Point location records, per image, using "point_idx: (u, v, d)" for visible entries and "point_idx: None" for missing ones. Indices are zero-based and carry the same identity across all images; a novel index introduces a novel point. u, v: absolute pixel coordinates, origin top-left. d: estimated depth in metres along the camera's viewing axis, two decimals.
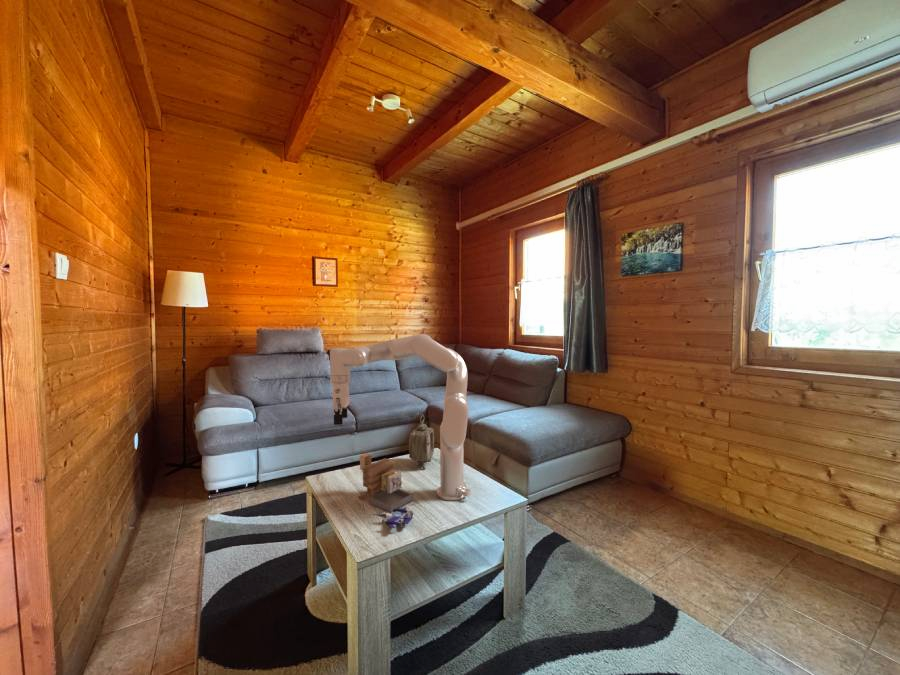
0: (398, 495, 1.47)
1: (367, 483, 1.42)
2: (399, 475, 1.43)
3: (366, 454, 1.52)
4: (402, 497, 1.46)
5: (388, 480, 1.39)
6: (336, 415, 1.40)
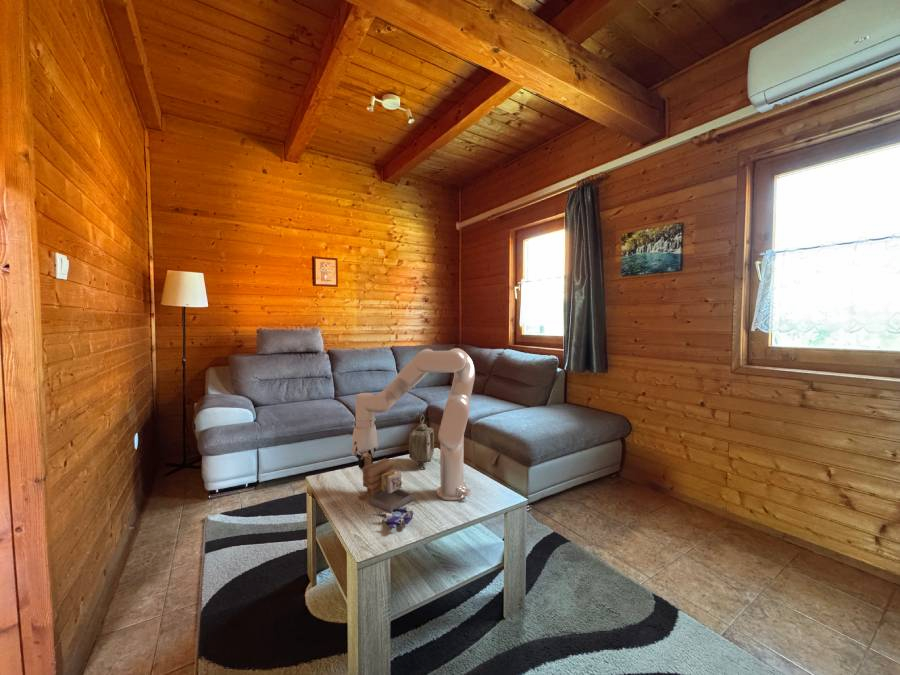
0: (398, 495, 1.47)
1: (367, 483, 1.42)
2: (399, 475, 1.43)
3: (366, 454, 1.52)
4: (402, 497, 1.46)
5: (388, 480, 1.39)
6: None
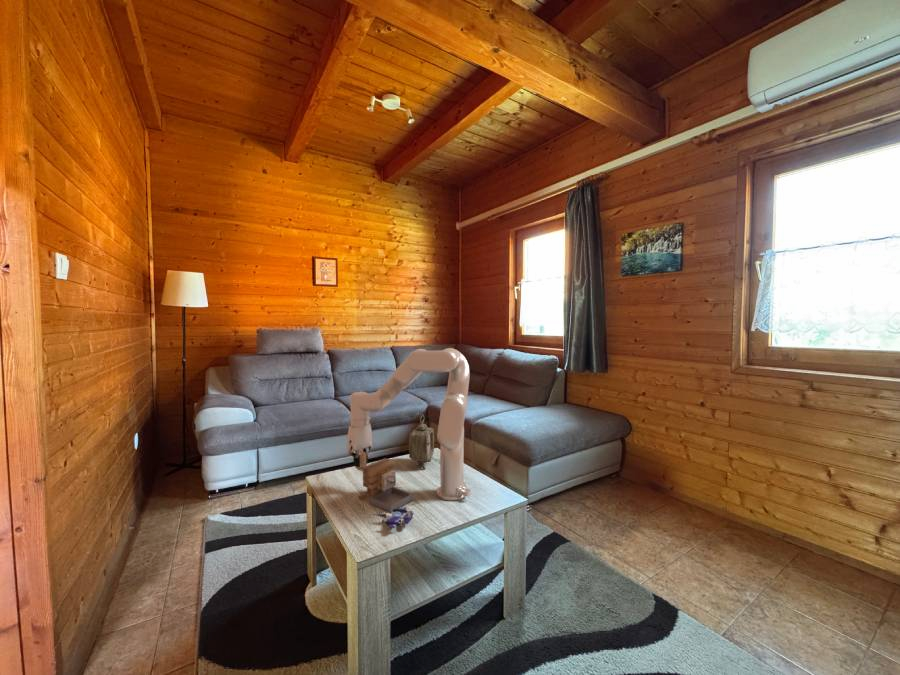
0: (398, 495, 1.47)
1: (367, 483, 1.42)
2: (393, 473, 1.45)
3: (361, 452, 1.54)
4: (402, 497, 1.46)
5: (382, 478, 1.41)
6: None
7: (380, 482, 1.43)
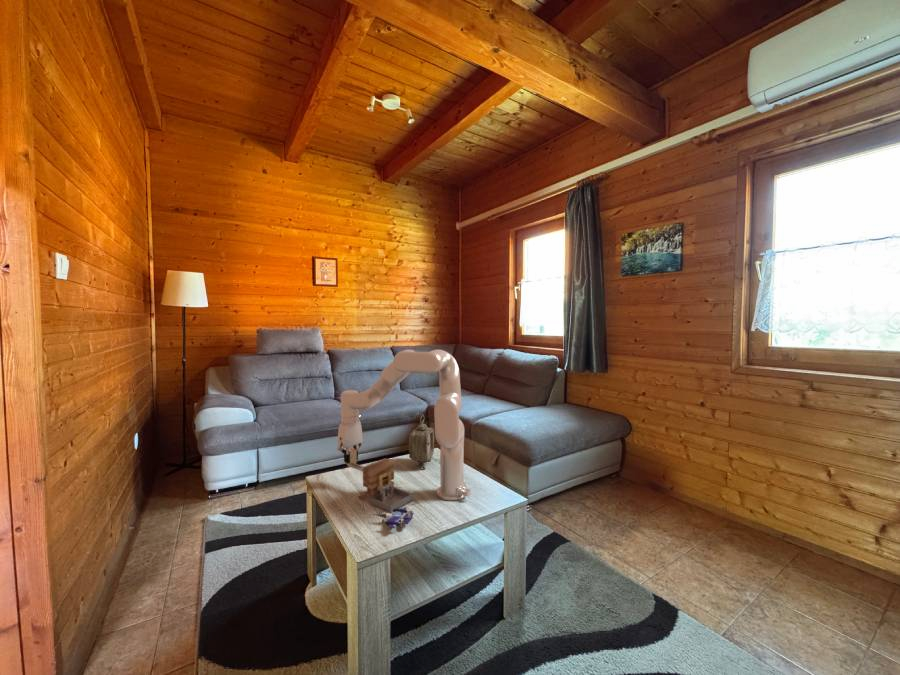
0: (398, 495, 1.47)
1: (367, 483, 1.42)
2: (391, 484, 1.46)
3: (351, 449, 1.58)
4: (402, 497, 1.46)
5: (381, 489, 1.42)
6: None
7: (380, 484, 1.43)
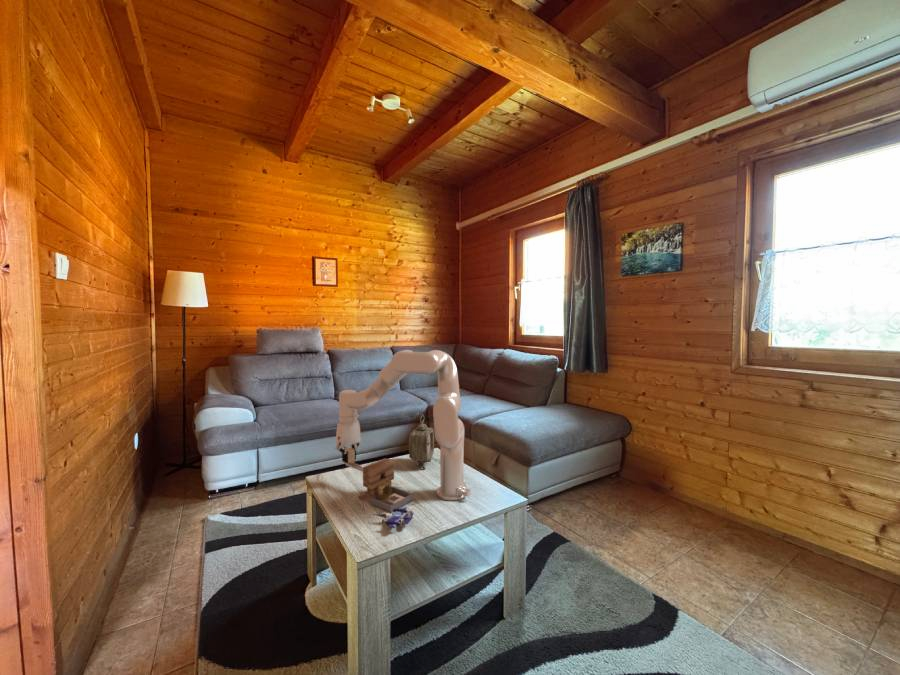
0: None
1: (367, 483, 1.42)
2: None
3: (350, 448, 1.59)
4: None
5: (391, 504, 1.39)
6: None
7: (380, 494, 1.43)
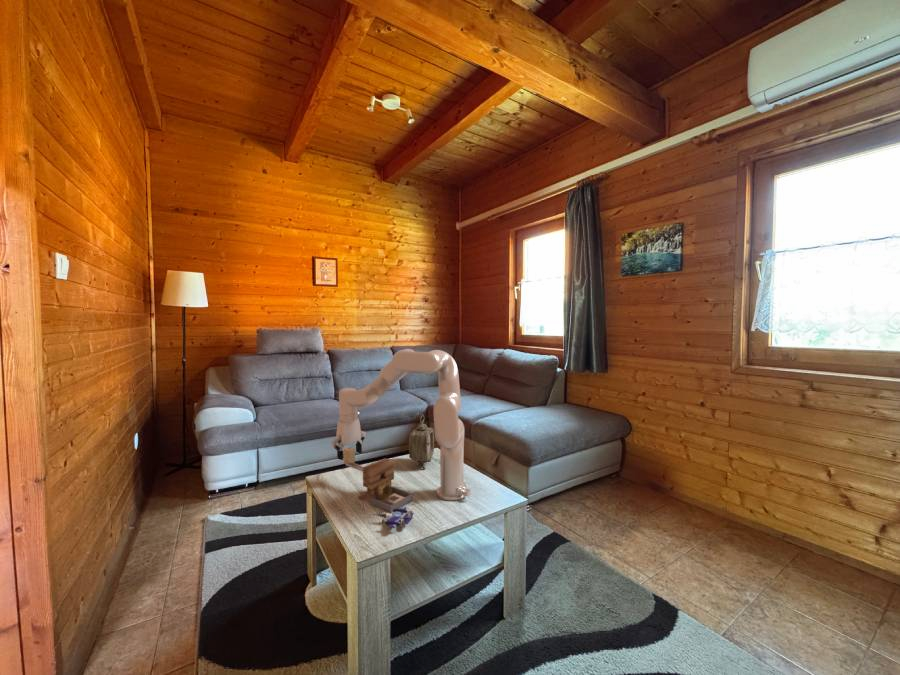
0: None
1: (367, 483, 1.42)
2: None
3: (350, 448, 1.59)
4: None
5: (391, 504, 1.39)
6: None
7: (380, 494, 1.43)
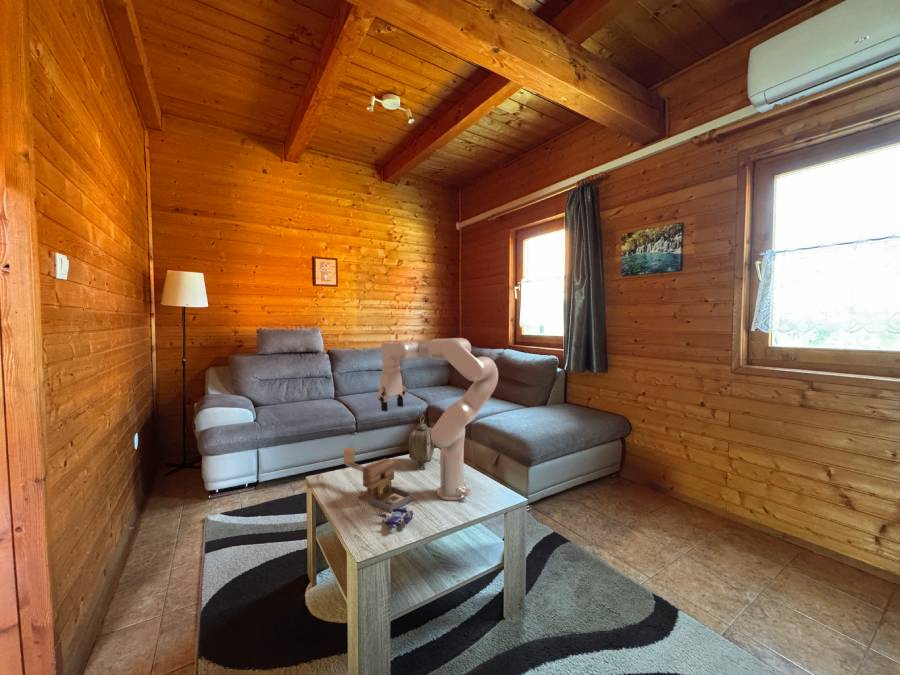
0: None
1: (367, 483, 1.42)
2: None
3: (350, 448, 1.59)
4: None
5: (391, 504, 1.39)
6: None
7: (380, 494, 1.43)
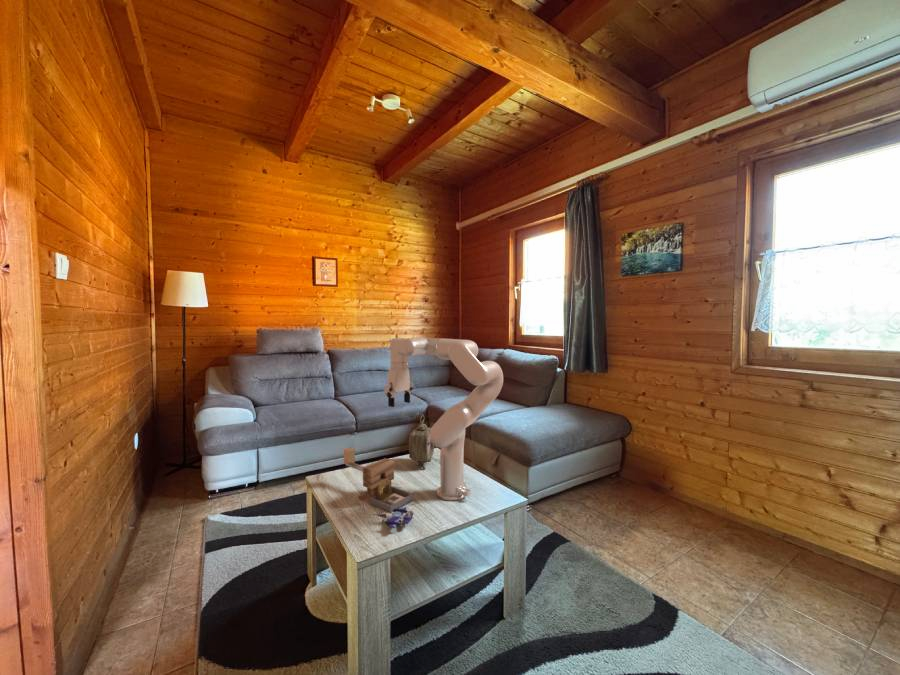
0: None
1: (367, 483, 1.42)
2: None
3: (350, 448, 1.59)
4: None
5: (391, 504, 1.39)
6: None
7: (380, 494, 1.43)
